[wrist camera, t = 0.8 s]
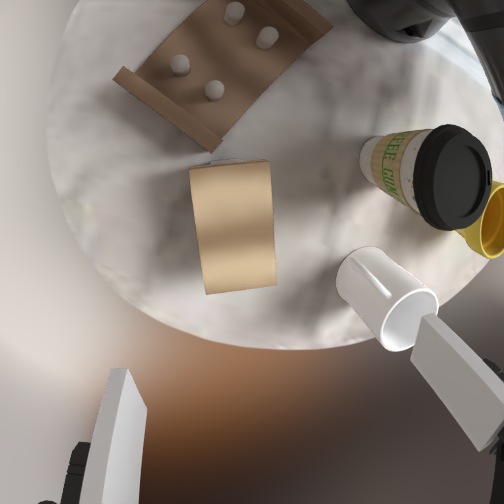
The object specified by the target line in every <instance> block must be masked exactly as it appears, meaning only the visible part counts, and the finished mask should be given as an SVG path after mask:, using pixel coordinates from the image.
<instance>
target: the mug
mask: <svg viewBox="0 0 504 504" xmlns="http://www.w3.org/2000/svg"><path fill="white" fill-rule="evenodd" d="M336 288H337V291H338V293H339V295H340V296H341V298H342V299H344V300H345V301H347V302H348V303H349V304H350V306H351V307H352V308H353V309H354V311H355V312H356V313H357V314H358V315H359V317H360V318H361V319H362V320H363V322H364V323H365V324H366V325H367V327H368V328H369V329H370V330H371V332H372V333H373V334H374V335H375V337H376V338H377V339H378V340H379V342H380V343H381V344H382V345H383V347H384V348H386V349H387V350H389V351H401V350H405V349H407V348H410V347H411V346H413V345H414V344H415V341H416V337H417V333H418V329H419V325H420V321H421V317H422V316H424V315H428V314H431V313H434V314H435V315H436V316H437V312H438V299H437V297H436V295H435V293H434V292H433V291H431V290H430V289H429V288H428V287H426V286H425V285H424V284H423V283H421V282H420V281H419V280H417V279H416V278H415V277H414V276H412V275H411V274H410V273H408V272H407V271H406V270H404V269H403V268H402V267H400V266H399V265H398V264H396V263H395V262H394V261H392V260H391V259H390V258H388V257H387V255H386V254H385V253H384V252H383V251H382V250H380V249H379V248H376V247H363V248H360V249H357V250H355V251H354V252H352V253H351V254H350V255H348V256H347V257H346V258H345V260H344V261H343V262H342V264H341V265H340V267H339V270H338V272H337V276H336Z"/></svg>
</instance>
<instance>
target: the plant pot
mask: <svg viewBox="0 0 504 504" xmlns="http://www.w3.org/2000/svg"><path fill="white" fill-rule="evenodd" d="M455 231H456V232H458V233H459V234H460V235H461V236H462V237H463V238H464V239H465V240H466V243H467V244H468V246H469V247H470V248H471V249H472V250H473V251H475V252H477V253H478V254H480V255H482V256H484V257H486V258H488V259H494V258H497V257H498V256H500V255H501V254H502V253H503V252H504V183H500V182H497V181H492V187H491V193H490V197H489V200H488V203H487V205H486V208H485V210H484V211H483V213H482V215H481V216H480V217H479V219H478V220H477V221H476V222H475V223H473V224H472V225H471V226H469V227H467V228H464V229H457V230H455Z"/></svg>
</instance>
